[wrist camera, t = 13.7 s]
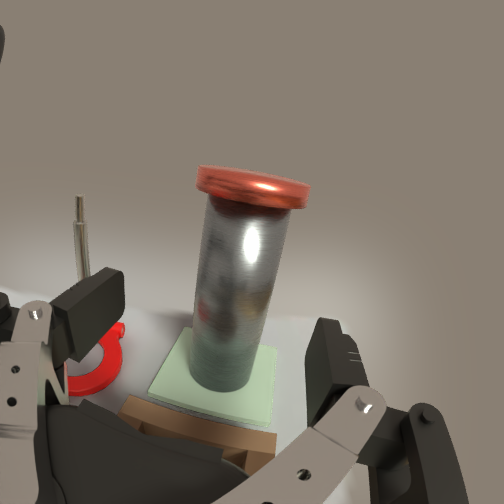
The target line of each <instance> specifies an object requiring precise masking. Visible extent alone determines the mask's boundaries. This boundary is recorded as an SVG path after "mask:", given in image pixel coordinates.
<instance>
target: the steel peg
mask: <svg viewBox="0 0 504 504" xmlns="http://www.w3.org/2000/svg"><path fill="white" fill-rule="evenodd" d="M195 187H196V188H197V189H198V190H200V191H203V192H206V193H208V197H207V204H206V211H205V218H204V225H203V233H202V240H201V249H200V256H199V265H198V274H197V283H196V292H195V302H194V313H193V325H192V337H191V351H190V366H189V369H190V374H191V376H192V378H193V379H194V380H195V381H196V382H197V383H198V384H199V385H200V386H202V387H204V388H206V389H208V390H211V391H214V392H221V393H227V392H233V391H237V390H239V389H241V388H243V387H244V386H245V385H246V384H247V383H248V381H249V379H250V376H251V372H252V369H253V365H254V361H255V358H256V354H257V350H258V346H259V342H260V339H261V335H262V331H263V327H264V323H265V319H266V315H267V311H268V307H269V303H270V299H271V295H272V291H273V287H274V283H275V279H276V274H277V270H278V266H279V262H280V258H281V254H282V249H283V245H284V241H285V236H286V232H287V227H288V223H289V218H290V214H291V209H302V208H305V207H306V206H307V201H308V197H309V193H310V188H311V186H310V185H308V184H306V183H303V182H300V181H296V180H292V179H289V178H285V177H281V176H277V175H272V174H267V173H263V172H257V171H252V170H246V169H239V168H233V167H225V166H215V165H199V166H198V171H197V178H196V185H195Z"/></svg>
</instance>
